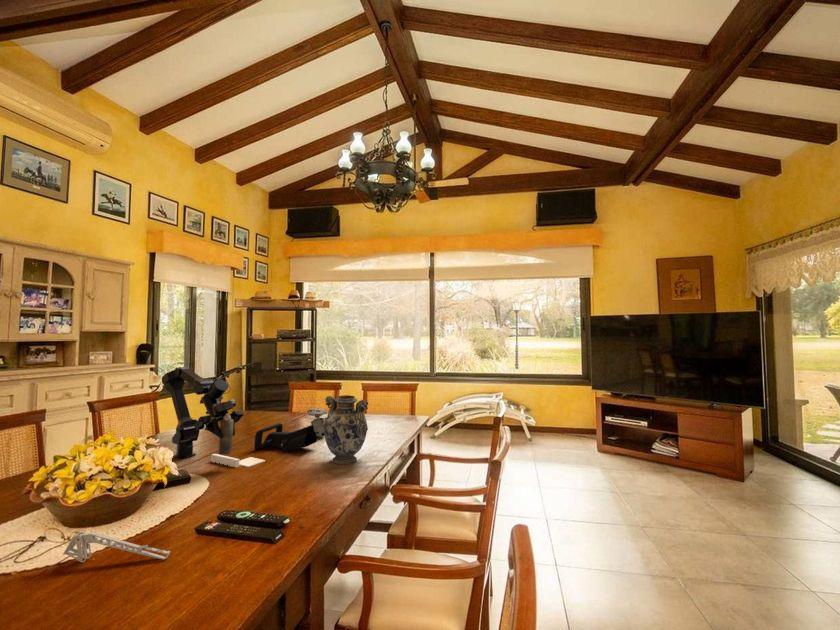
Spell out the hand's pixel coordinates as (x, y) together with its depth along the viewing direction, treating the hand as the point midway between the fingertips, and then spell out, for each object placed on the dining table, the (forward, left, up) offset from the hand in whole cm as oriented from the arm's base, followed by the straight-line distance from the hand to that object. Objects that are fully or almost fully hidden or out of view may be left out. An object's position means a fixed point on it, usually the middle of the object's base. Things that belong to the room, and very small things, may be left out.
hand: (228, 436), depth 164 cm
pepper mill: (-1, 0, -7) cm, 7 cm away
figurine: (-3, +58, -13) cm, 59 cm away
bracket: (+32, -56, -13) cm, 66 cm away
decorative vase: (+34, +33, -13) cm, 49 cm away
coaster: (+1, +11, -13) cm, 17 cm away
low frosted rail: (-6, +4, -13) cm, 15 cm away
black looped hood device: (0, +34, -13) cm, 37 cm away
